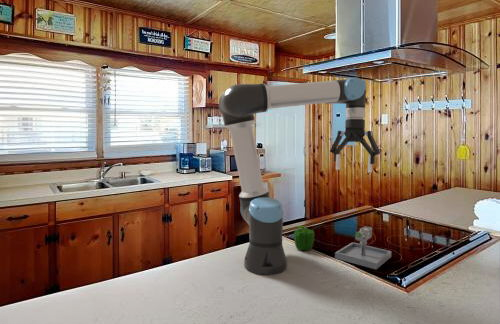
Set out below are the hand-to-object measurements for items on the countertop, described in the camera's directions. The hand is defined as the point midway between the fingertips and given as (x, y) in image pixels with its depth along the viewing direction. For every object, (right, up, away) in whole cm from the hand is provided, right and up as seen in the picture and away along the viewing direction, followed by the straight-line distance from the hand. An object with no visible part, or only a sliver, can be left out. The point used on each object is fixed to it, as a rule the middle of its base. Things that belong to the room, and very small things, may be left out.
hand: (353, 171), depth 135 cm
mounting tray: (+1, -33, -10) cm, 34 cm away
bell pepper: (-20, -32, -1) cm, 38 cm away
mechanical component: (+1, -32, -10) cm, 33 cm away
